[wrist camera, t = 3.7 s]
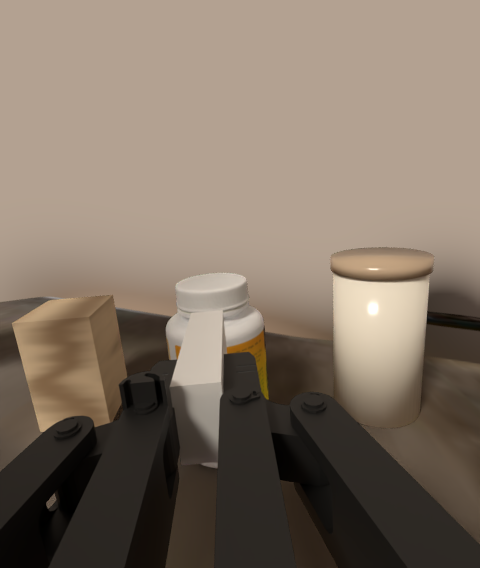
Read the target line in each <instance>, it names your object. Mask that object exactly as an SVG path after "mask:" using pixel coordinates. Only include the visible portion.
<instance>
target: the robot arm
mask: <svg viewBox="0 0 480 568" xmlns="http://www.w3.org/2000/svg"><path fill="white" fill-rule="evenodd" d="M119 390H120V395H121V400H122V406H123V411H122V413H121V415H120V418H119V419H118V420H116V421H113V422H110V423H107V424H104V425H100V426H97V427H95V426H94V421H93V420H92V419H91V418H90V417H88V416H72V417H68V418H65V419H63V420H61V421H59V422H57V423H55V424H54V425H52V426H51V427H49V428H48V429H47V430H46V431H45V432H43V433H42V434H41V435H40V436H39V437H38V438H37V439H36V440H35V441H34V442H32V443H31V444H30V445H29V446H28V447H27V448H26V449H25V450H24V451H23V452H21V453H20V454H19V455H18V456H17V457H16V458H15V459H14V460H13V461H12V462H10V463H9V464H8V465H7V466H6V467H5V468H4V469H3V470H2V471H1V472H0V568H165V565H166V559H167V552H168V546H169V540H170V534H171V527H172V521H173V515H174V509H175V502H176V496H177V490H178V483H179V472H178V465H177V462H178V457H179V454H180V461H181V466H182V465H192V464H202V463H212V462H218V469H217V500H216V531H215V562H214V568H296V562H295V557H294V552H293V547H292V541H291V536H290V531H289V525H288V520H287V515H286V510H285V504H284V499H283V494H282V488H281V483H280V480H284V481H290V482H294V485H295V489H296V491H297V493H298V495H299V496H300V498H301V500H302V502H303V504H304V506H305V507H306V509H307V511H308V513H309V515H310V517H311V518H312V520H313V522H314V524H315V526H316V527H317V529H318V531H319V533H320V535H321V537H322V538H323V540H324V542H325V544H326V546H327V548H328V549H329V551H330V553H331V555H332V557H333V558H334V560H335V562H336V564H337V566H338V568H480V545H479V544H478V543H477V542H476V541H475V540H474V539H473V538H472V537H471V536H470V535H469V534H468V533H467V532H466V530H465V529H464V528H463V527H462V526H461V525H460V524H459V523H458V522H457V521H456V520H455V519H454V518H453V517H452V516H451V515H450V514H449V513H448V512H447V511H446V510H445V509H444V508H443V507H442V506H441V505H440V504H439V503H438V502H437V501H436V500H435V499H434V498H433V497H432V496H431V495H430V494H429V493H428V492H427V491H426V490H425V489H424V488H423V487H422V486H421V485H420V484H419V483H418V482H417V481H416V480H415V479H414V478H413V477H412V476H411V475H410V474H409V473H408V472H407V471H406V470H405V469H404V468H403V467H402V466H401V465H400V464H399V463H398V462H397V461H396V460H395V459H394V458H393V457H392V456H391V455H390V454H389V453H388V452H387V451H386V450H385V449H384V448H383V447H382V446H381V445H380V444H379V443H378V442H377V441H376V440H375V439H374V438H373V437H372V436H371V435H370V434H369V433H368V432H367V431H366V430H365V429H364V428H363V427H362V426H361V425H360V424H359V423H358V422H357V421H356V420H355V419H354V418H353V417H352V416H351V415H350V414H349V413H348V412H347V411H346V410H345V409H344V408H343V407H342V406H341V405H340V404H339V403H338V402H337V401H336V400H334V399H333V398H332V397H330V396H329V395H326V394H323V393H319V392H307V393H302V394H299V395H297V396H295V397H294V398H293V399H292V400H291V402H290V405H282V404H277V403H274V402H271V401H269V400H268V399H266V398H265V397H264V395H263V393H262V391H261V386H260V381H259V375H258V370H257V365H256V359H255V357H254V356H253V355H252V354H251V353H250V352H240V353H230V354H227V348H226V337H225V327H224V317H223V310H218V311H207V312H196V313H191V315H190V319H189V322H188V326H187V329H186V333H185V336H184V339H183V343H182V346H181V350H180V353H179V356H178V359H176V360H165V361H159V362H158V363H157V364H156V365H154V366H153V367H152V368H151V370H150V371H145V372H140V373H136V374H133V375H131V376H129V377H127V378H125V379H124V380H122V381H121V383H120V384H119ZM54 493H55V496H56V502H55V503H54V504H53V505H52V506H51V507H50V508H49V509H48V508H47V506H46V502H47V501H48V500H49V499H50V497H51V496H52V495H53V494H54Z"/></svg>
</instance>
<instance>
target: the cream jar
mask: <svg viewBox="0 0 480 568" xmlns="http://www.w3.org/2000/svg"><path fill="white" fill-rule="evenodd" d="M433 265H434V256H433V255H432V254H431V253H428V252H425V251H420V250H414V249H406V248H387V247H382V248H381V247H379V248H359V249H351V250H344V251H340V252H337V253H334V254H332V255H331V271H332V272H333V336H334V337H333V374H334V400H336V401H337V402H338V403H339V404H340V405H341V406H342V407H343V408H344V409H345V410H346V411H347V412H348V413H349V414H350V415H351V416H352V417H353V418H354V419H355V420H356V421H357V422H358V423H360V424H363V425H367V426H371V427H376V428H398V427H403V426H406V425H409V424H411V423H412V422H414V421H415V420H416V419H417V418H418V416H419V413H420V403H421V389H422V375H423V361H424V347H425V333H426V319H427V305H428V291H429V278H430V274H431V273H432V272H433Z"/></svg>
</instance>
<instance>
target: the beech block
mask: <svg viewBox="0 0 480 568" xmlns="http://www.w3.org/2000/svg"><path fill="white" fill-rule="evenodd" d="M12 325H13V329H14V333H15V337H16V340H17V344H18V348H19V352H20V356H21V360H22V363H23V367H24V371H25V375H26V379H27V382H28V386H29V390H30V394H31V398H32V402H33V405H34V409H35V413H36V417H37V421H38V425H39V428H40V432H45V431H46V430H47V429H48V428H49V427H51V426H52V425H54V424H55V423H57V422H59V421H61V420H63V419H65V418H68V417H72V416H88V417H90V418H91V419H92V420H93V421H94V426H95V427H97V426H100V425H104V424H107V423H110V422H113V420H114V418H115V416H116V413H117V411H118V409H119V407H120V405H121V403H122V400H121V395H120V390H119V384H120V383H121V381H122V380H124V379H125V378H127V372H126V367H125V361H124V355H123V350H122V344H121V338H120V333H119V327H118V321H117V316H116V310H115V305H114V299H113V295H107V296H95V297H84V298H83V297H82V298H70V299H58V300H49V301H47V302H46V303H44V304H43V305H41V306H39V307H38V308H36V309H34V310H33V311H31V312H30V313H28V314H26V315H25V316H23V317H21V318H20V319H18V320H17V321H15V322H13V323H12Z"/></svg>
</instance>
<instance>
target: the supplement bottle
mask: <svg viewBox="0 0 480 568" xmlns="http://www.w3.org/2000/svg"><path fill="white" fill-rule="evenodd" d="M175 291H176V300H177V302H176V305H177V311H178V313H176V314H175V315H174V316H172V317H171V318H170V320H169V321H168V323H167V326H166V339H167V346H168V354H169V360H176V359H178V356H179V353H180V350H181V346H182V343H183V339H184V336H185V333H186V329H187V326H188V322H189V319H190V315H191V313H196V312H207V311H218V310H223V317H224V327H225V337H226V348H227V354H230V353H240V352H250V353H251V354H252V355H253V356H254V357H255V359H256V365H257V370H258V375H259V381H260V386H261V391H262V393H263V395H264V397H265V398H266V399H268V400H269V396H268V379H267V364H266V348H265V328H264V320H263V316H262V315H261V313H260V312H259V311H258V310H257V309H256V308H254V307H252V306H250V305H249V301H248V299H249V294H248V288H247V279H246V278H245V277H244V276H242V275H239V274H233V273H211V274H204V275H198V276H193V277H189V278H186V279H184V280H181V281H180V282H178V283H177V284H176V286H175ZM201 465H203V466H206V467H211V468H218V462H212V463H202V464H201Z"/></svg>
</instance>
